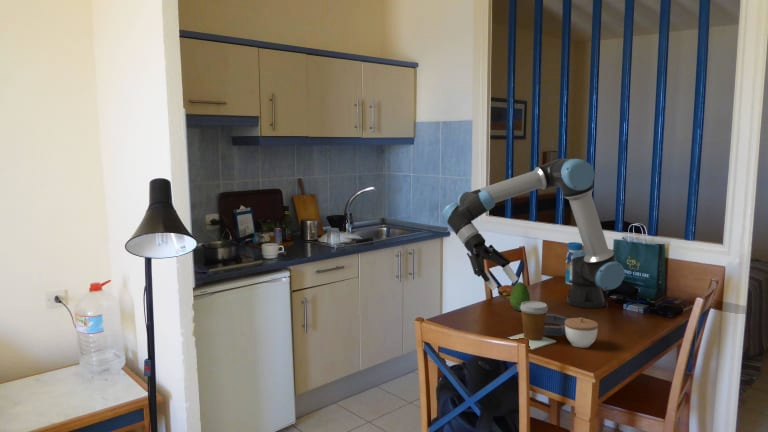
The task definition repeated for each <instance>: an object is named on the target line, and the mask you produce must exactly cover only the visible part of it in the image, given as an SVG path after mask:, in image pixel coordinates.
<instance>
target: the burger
mask: <svg viewBox="0 0 768 432" xmlns="http://www.w3.org/2000/svg"><path fill="white" fill-rule="evenodd" d="M514 286H515V285H511V284H510V285H508V284H506V285H505V284H504V285H501V286H499V287H498V288H497V294H498V295H499V297H501V298H503V299H507V300H510V295H511V293H512V290H513V288H514Z"/></svg>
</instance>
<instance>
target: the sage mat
mask: <svg viewBox="0 0 768 432" xmlns="http://www.w3.org/2000/svg"><path fill="white" fill-rule="evenodd" d="M508 338H510V339H519V338H524V332H523V333H519V334H516V335H512V336H509V337H508ZM525 339H526V338H525ZM555 343H557V340H555V339H552V338H549V337H546V336H543V338H542V339H541V340H529V346H530V348H529V350H537V349H540V348H543V347H545V346H549V345H553V344H555Z"/></svg>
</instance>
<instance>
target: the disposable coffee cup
mask: <svg viewBox="0 0 768 432" xmlns="http://www.w3.org/2000/svg"><path fill="white" fill-rule="evenodd" d="M520 309H521V321H522V330H523V331H522V332H523V333H524V338H526V339H528V340H541V339H542V338H543V337H544V335H543V331H544V326H546V325H545V324H546V323H545V319H546V314H548V311H549V308H548V305H547V303H545V302H543V301H537V300H530V301H525V302H522V303H521V306H520Z"/></svg>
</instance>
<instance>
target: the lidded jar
mask: <svg viewBox="0 0 768 432" xmlns="http://www.w3.org/2000/svg"><path fill="white" fill-rule="evenodd" d="M598 328H599V323H598V322H597V321H595V320H592V319H588V318H584V317H570V319H567V320H565V334H566V335H565V336H566V337H565V338H566V339H567V340H568V341H569V343H570V344H571V346H573V347H576V348H581V349H583V348H584V349H585V348H589V347H590V346H591V345H592V344H593V343H594V342H595V341H596V340H597V339H596V338H597V336H598V330H599V329H598Z"/></svg>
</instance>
